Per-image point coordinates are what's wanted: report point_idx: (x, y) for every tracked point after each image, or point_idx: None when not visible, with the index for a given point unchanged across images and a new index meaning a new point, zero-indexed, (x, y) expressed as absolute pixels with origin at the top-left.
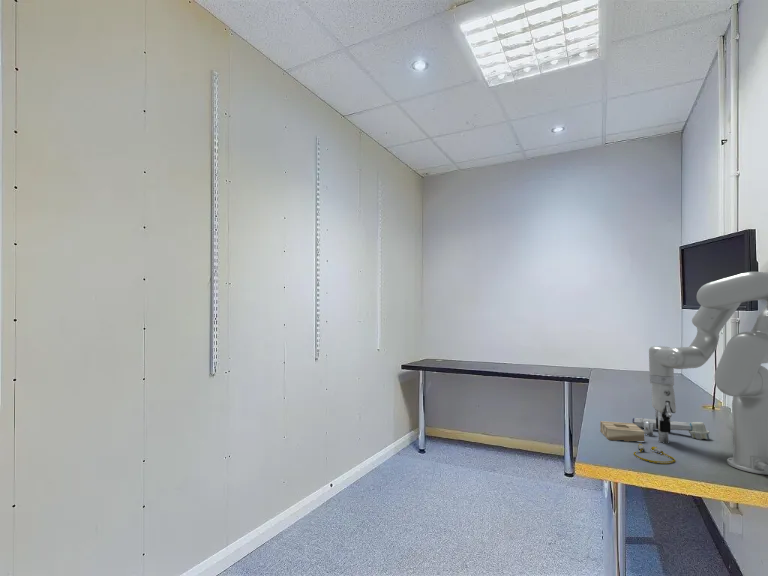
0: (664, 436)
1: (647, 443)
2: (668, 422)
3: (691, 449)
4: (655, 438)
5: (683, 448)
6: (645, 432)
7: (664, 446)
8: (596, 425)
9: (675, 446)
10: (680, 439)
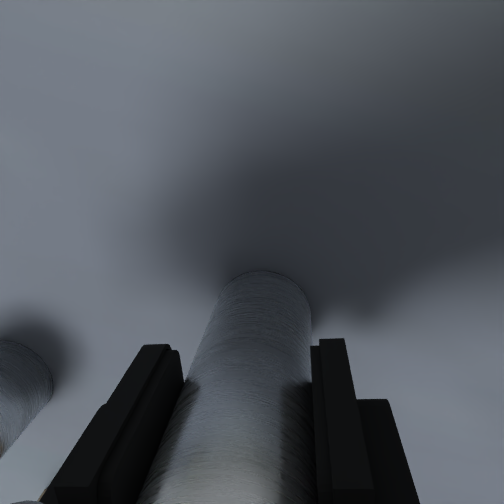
0: None
1: None
2: (364, 492)
3: (499, 79)
4: (128, 350)
5: (475, 170)
6: (25, 427)
7: (444, 353)
8: None
9: (407, 238)
10: (24, 75)
